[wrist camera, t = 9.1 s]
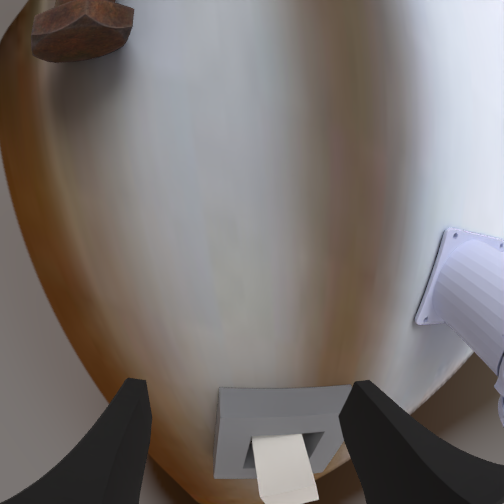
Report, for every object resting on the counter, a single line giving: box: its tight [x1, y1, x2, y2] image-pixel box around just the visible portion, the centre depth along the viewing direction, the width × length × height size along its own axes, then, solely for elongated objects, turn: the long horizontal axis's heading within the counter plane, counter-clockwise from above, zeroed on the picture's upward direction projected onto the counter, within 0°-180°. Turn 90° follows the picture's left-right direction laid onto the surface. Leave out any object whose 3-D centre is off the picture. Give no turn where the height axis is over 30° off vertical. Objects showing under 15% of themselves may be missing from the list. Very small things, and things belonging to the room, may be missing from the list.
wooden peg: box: [251, 434, 319, 504], centre depth 20 cm, size 4×4×8 cm
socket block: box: [213, 385, 352, 479], centre depth 22 cm, size 11×11×3 cm
